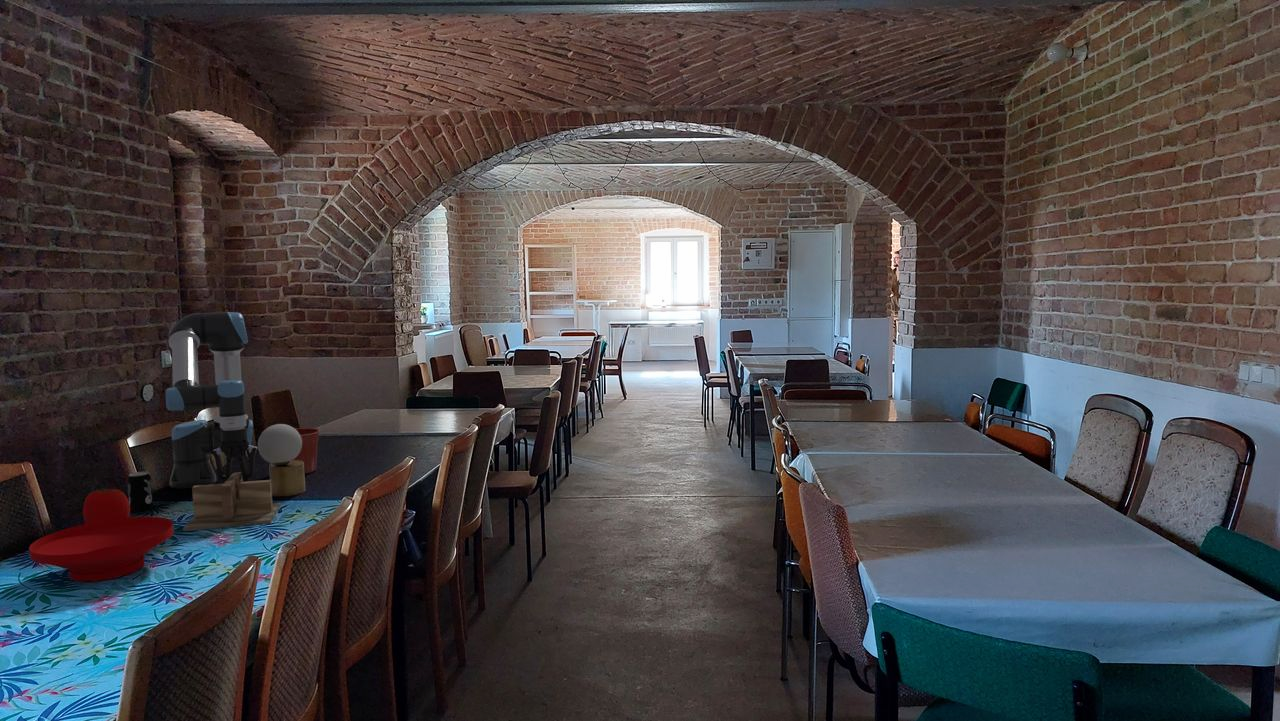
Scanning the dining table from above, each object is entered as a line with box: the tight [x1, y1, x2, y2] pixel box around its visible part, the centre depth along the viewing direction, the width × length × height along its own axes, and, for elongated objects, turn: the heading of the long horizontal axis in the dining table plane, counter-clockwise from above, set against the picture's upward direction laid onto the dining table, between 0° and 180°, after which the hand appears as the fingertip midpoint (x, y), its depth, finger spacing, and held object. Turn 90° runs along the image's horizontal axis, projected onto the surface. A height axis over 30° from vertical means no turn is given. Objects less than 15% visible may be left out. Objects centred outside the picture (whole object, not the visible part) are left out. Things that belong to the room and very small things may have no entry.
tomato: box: [82, 487, 131, 524], centre depth 230 cm, size 13×11×14 cm
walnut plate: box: [221, 471, 243, 518], centre depth 244 cm, size 18×2×10 cm, turn 17°
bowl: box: [28, 516, 175, 582], centre depth 199 cm, size 30×30×10 cm
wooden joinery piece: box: [182, 479, 281, 532], centre depth 244 cm, size 20×24×11 cm
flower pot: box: [293, 427, 321, 475], centre depth 305 cm, size 16×16×16 cm
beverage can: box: [126, 471, 154, 512], centre depth 256 cm, size 7×7×12 cm
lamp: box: [257, 423, 306, 498], centre depth 271 cm, size 15×14×25 cm
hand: (238, 499), depth 251 cm, fingers closed on walnut plate, 2 cm apart
